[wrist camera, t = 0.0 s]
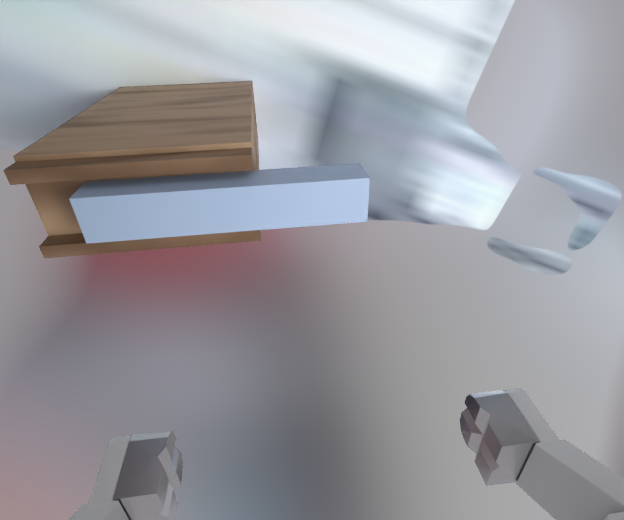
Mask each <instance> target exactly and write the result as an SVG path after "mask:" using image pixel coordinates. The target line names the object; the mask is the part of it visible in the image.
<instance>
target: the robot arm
mask: <svg viewBox="0 0 624 520" xmlns="http://www.w3.org/2000/svg"><path fill="white" fill-rule="evenodd" d="M465 404H466V406H467V409H465V410H464V411H463V412H462V413H461V418H460V426H461V432H462V435H463V438H464V440H465V442H466V444H467V446H468V447H469V448H470V449H472V450H473V451H474V452H475V453H476V458H475V463H476V465H477V467H478V469H479V471H480V473H481V475H482V477H483V479H484V482H485V484H486V485H494V484H503V483H511V482H517V483H516V484H517V485H518V486H519V487H520V488H521V489H523V490H524V491H525V492H526V493H527V494H528V495H529V496H530V497H531V498H532V499H533V500H535V501H536V502H537V503H538V504H539V505H540V506H541V507H542V508H543V509H545V510H546V511H547V512H548V513H549V514H550V515H551V516H552V517H553V518H554V519H556V520H624V478H623V477H621V476H620V475H618V474H617V473H615V472H614V471H612V470H611V469H609V468H607V467H606V466H605V465H603V464H602V463H600V462H598V461H597V460H595V459H594V458H592V457H591V456H589V455H588V454H586V453H585V452H583V451H582V450H580V449H578V448H577V447H575V446H574V445H572V444H571V443H569V442H568V441H566V440H559V439H558V437H557V436H556V434H555V433H554V431H553V430H552V429H551V427H550V426H549V424H548V423H547V422H546V420H545V419H544V417H543V416H542V415H541V413H540V412H539V410H538V409H537V408H536V406H535V405H534V403H533V402H532V400H531V399H530V398H529V396H528V395H527V393H526V392H525V391H524V390H523V389H521V388H515V389H508V390H497V391H489V392H482V393H475V394H469V395H468V396H467V397H466V400H465ZM175 442H176V437H175V434H174V432H173V431H169V432H159V433H150V434H142V435H130V436H122V437H114V438H112V439H111V441H110V442H109V444H108V446H107V449H106V452H105V455H104V458H103V461H102V464H101V467H100V470H99V473H98V476H97V479H96V482H95V485H94V488H93V491H92V494H91V497H90V500H89V503H88V504H85V505H82V506H81V507H80V508H79V509H78V510H77V511H76V512H75V513H74V515H72V517H71V518H70V519H69V520H176V513H177V507H178V501H177V499H176V496H175V492H176V490H177V489H178V488H179V487H180V485H181V480H182V468H183V461H182V454H181V451H180V448H178V447H177V446H175Z"/></svg>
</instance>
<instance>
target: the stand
mask: <svg viewBox="0 0 624 520" xmlns="http://www.w3.org/2000/svg"><path fill="white" fill-rule="evenodd" d="M14 159H15V161H16V162H15V163H14V164H12V165H11V166H9V167H8V168H6V169H5V170H4V172H5V174H6V176H7V179H8V181H9V183H10V185H14V184H26V186H27V188H28V190H29V193H30V195H31V197H32V200H33V202H34V204H35V206H36V209H37V211H38V213H39V215H40V218H41V220H42V222H43V224H44V227H45V229H46V231H47V233H48V237H47V238H46V240H45V241H44V242H43V243H42V244H41V245H40V246H39V247H40V250H41V252H42V254H43V256H44V258H53V257H65V256H78V255H90V254H102V253H114V252H127V251H138V250H151V249H163V248H176V247H187V246H199V245H200V246H201V245H213V244H225V243H237V242H249V241H260V240H261V230H253V231H240V232H227V233H215V234H202V235H189V236H177V237H164V238H152V239H139V240H126V241H114V242H101V243H88V244H86V241H85V239H84V236H83V233H82V231H81V228H80V226H79V223H78V220H77V218H76V215H75V213H74V210H73V208H72V205H71V202H70V200H69V198H70V197H71V196H72V195H73V194H74V193H75V192H76V191H77V190H78V189H79V188H80V187H81V186H82V184H83V183H84V182H85V181H100V180H115V179H131V178H146V177H161V176H176V175H191V174H207V173H222V172H237V171H252V170H259V152H258V135H257V125H256V114H255V104H254V94H253V84H252V81H244V82H222V83H200V84H178V85H156V86H135V87H120V88H118V89H117V90H115V91H114V92H112V93H111V94H109V95H107V96H106V97H104V98H103V99H101V100H100V101H98V102H97V103H95V104H93V105H92V106H90V107H89V108H87V109H86V110H84V111H83V112H81V113H79V114H78V115H76V116H75V117H73V118H72V119H70V120H69V121H67V122H66V123H64V124H62V125H61V126H59V127H58V128H56V129H55V130H53V131H52V132H50V133H48V134H47V135H45V136H44V137H42V138H41V139H39V140H38V141H36V142H35V143H33V144H31V145H30V146H28V147H27V148H25V149H24V150H22V151H21V152H19V153H18V154H16V155H14Z"/></svg>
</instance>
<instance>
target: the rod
mask: <svg viewBox="0 0 624 520" xmlns="http://www.w3.org/2000/svg"><path fill="white" fill-rule="evenodd" d="M369 181H370V178H369V176H368V175H367V173H366V172H365V170H364V169H363V167H362V166H361V164H360V163H359V164H344V165H328V166H313V167H298V168H283V169H267V170H252V171H237V172H222V173H207V174H191V175H176V176H161V177H146V178H131V179H115V180H100V181H85V182H84V183H83V184H82V186H81V187H80V188H79V189H78V190H77V191H76V192H75V193H74V194H73V195H72V196H71V197H70V198H69V200H70V202H71V205H72V208H73V210H74V213H75V215H76V218H77V220H78V223H79V226H80V228H81V231H82V233H83V236H84V239H85V241H86V244H88V243H101V242H114V241H126V240H139V239H152V238H164V237H177V236H189V235H202V234H215V233H227V232H240V231H253V230H265V229H278V228H291V227H303V226H315V225H328V224H341V223H354V222H366V221H367V215H368V198H369Z"/></svg>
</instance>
